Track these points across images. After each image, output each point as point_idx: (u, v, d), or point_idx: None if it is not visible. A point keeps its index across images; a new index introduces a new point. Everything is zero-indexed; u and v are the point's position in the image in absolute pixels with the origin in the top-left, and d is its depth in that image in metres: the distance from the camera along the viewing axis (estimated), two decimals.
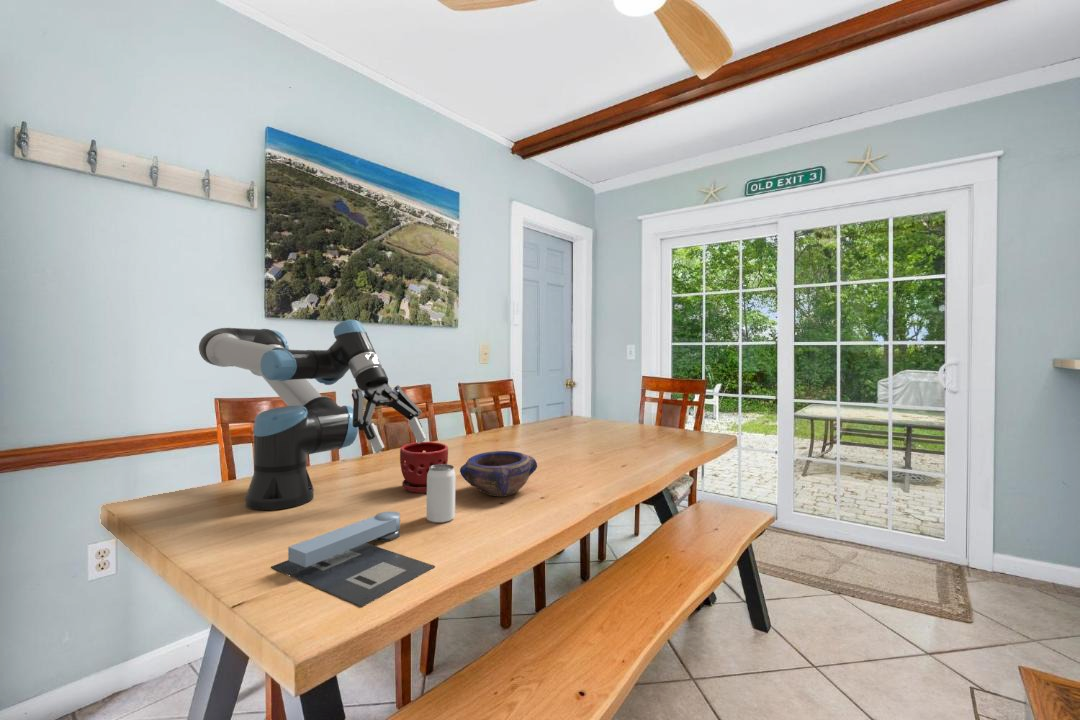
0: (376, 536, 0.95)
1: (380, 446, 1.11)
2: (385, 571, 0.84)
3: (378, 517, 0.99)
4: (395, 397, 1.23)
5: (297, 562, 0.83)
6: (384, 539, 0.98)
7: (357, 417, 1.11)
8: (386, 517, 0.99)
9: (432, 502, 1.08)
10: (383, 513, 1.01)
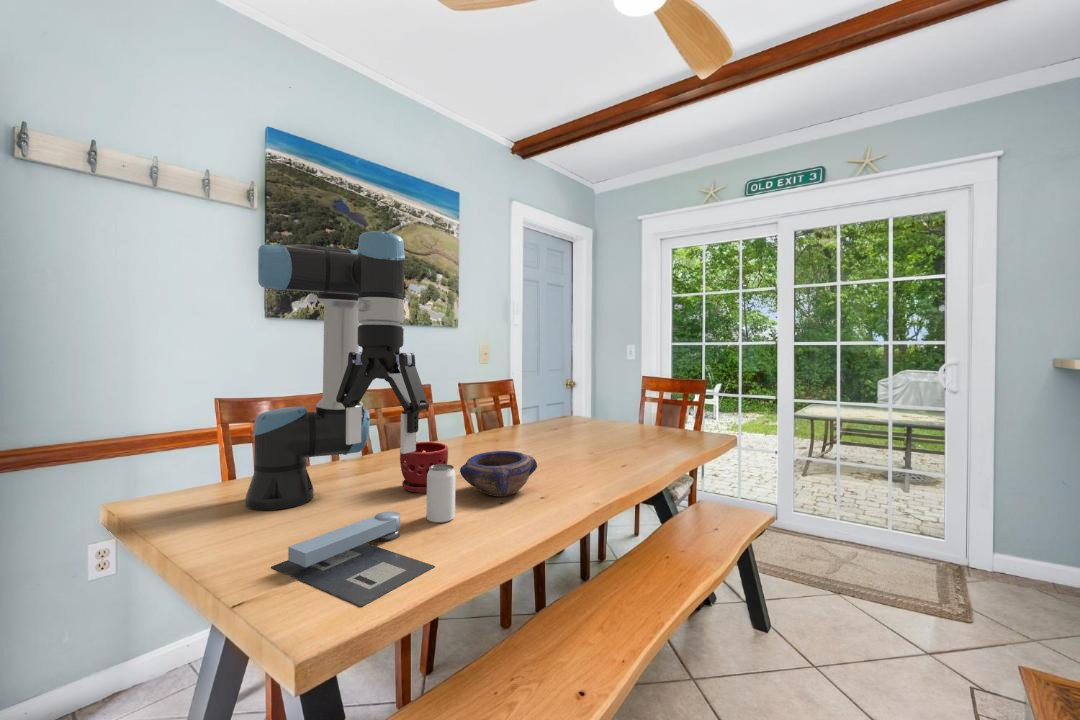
0: (376, 536, 0.95)
1: None
2: (385, 571, 0.84)
3: (378, 517, 0.99)
4: (385, 375, 0.80)
5: (297, 562, 0.83)
6: (384, 539, 0.98)
7: None
8: (386, 517, 0.99)
9: (432, 502, 1.08)
10: (383, 513, 1.01)
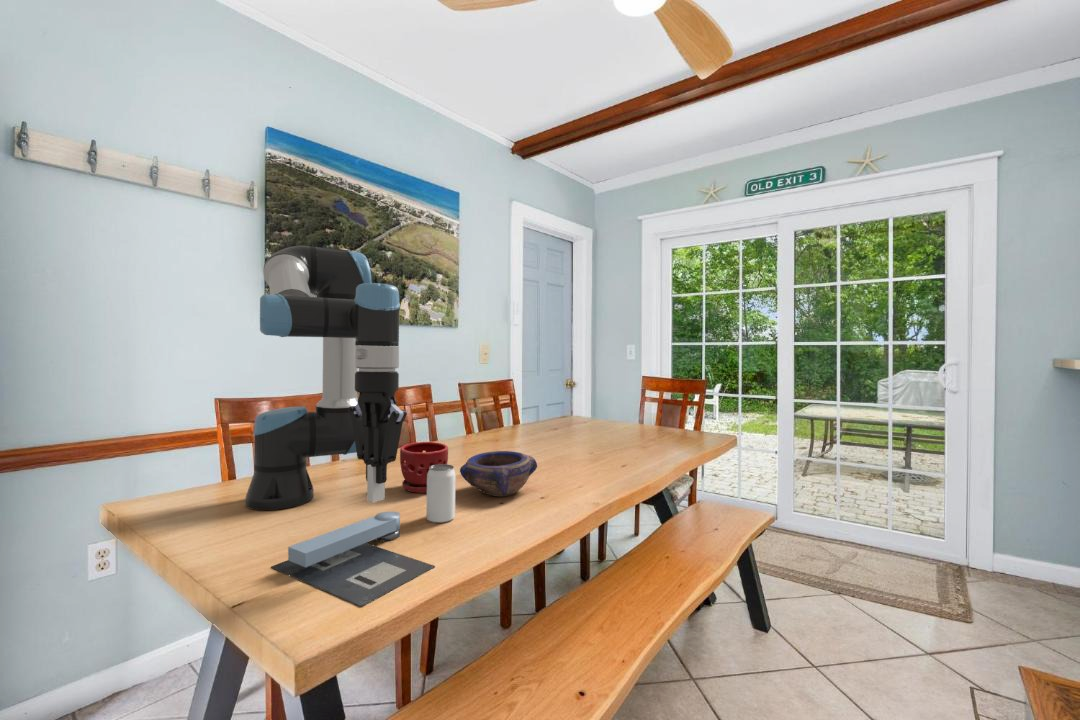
0: (376, 536, 0.95)
1: None
2: (385, 571, 0.84)
3: (378, 517, 0.99)
4: (373, 423, 0.85)
5: (297, 562, 0.83)
6: (384, 539, 0.98)
7: None
8: (386, 517, 0.99)
9: (432, 502, 1.08)
10: (383, 513, 1.01)
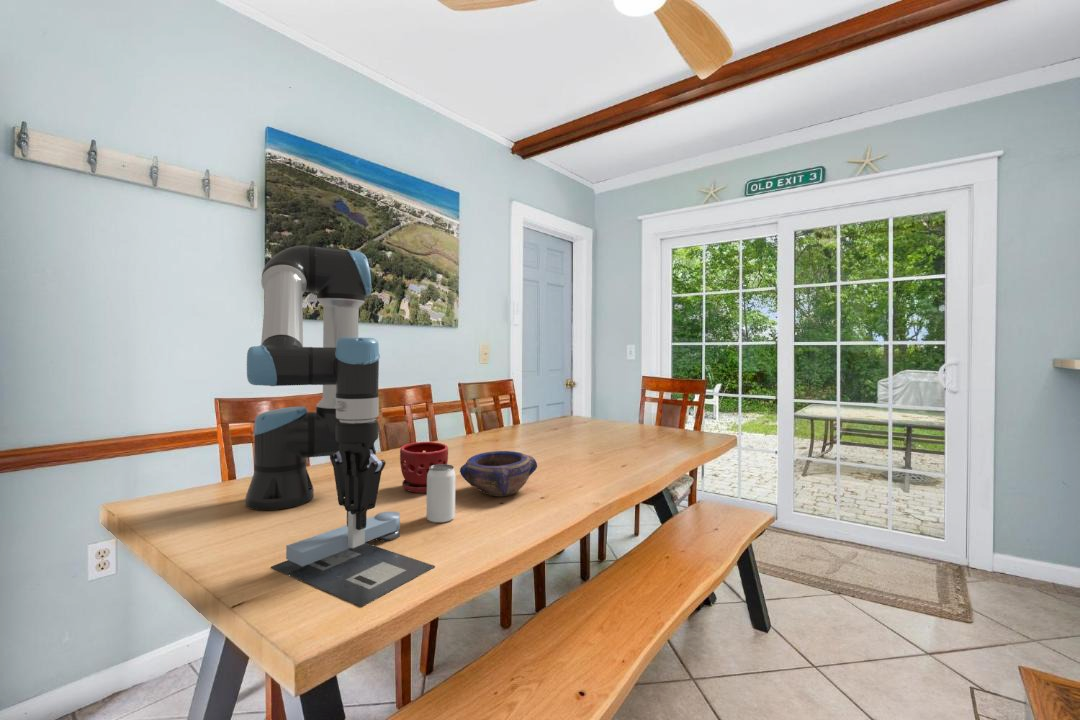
0: (375, 536, 0.95)
1: None
2: (385, 571, 0.84)
3: (378, 517, 0.99)
4: (353, 472, 0.88)
5: (294, 561, 0.83)
6: (384, 539, 0.98)
7: None
8: (386, 517, 0.99)
9: (432, 502, 1.08)
10: (383, 513, 1.01)
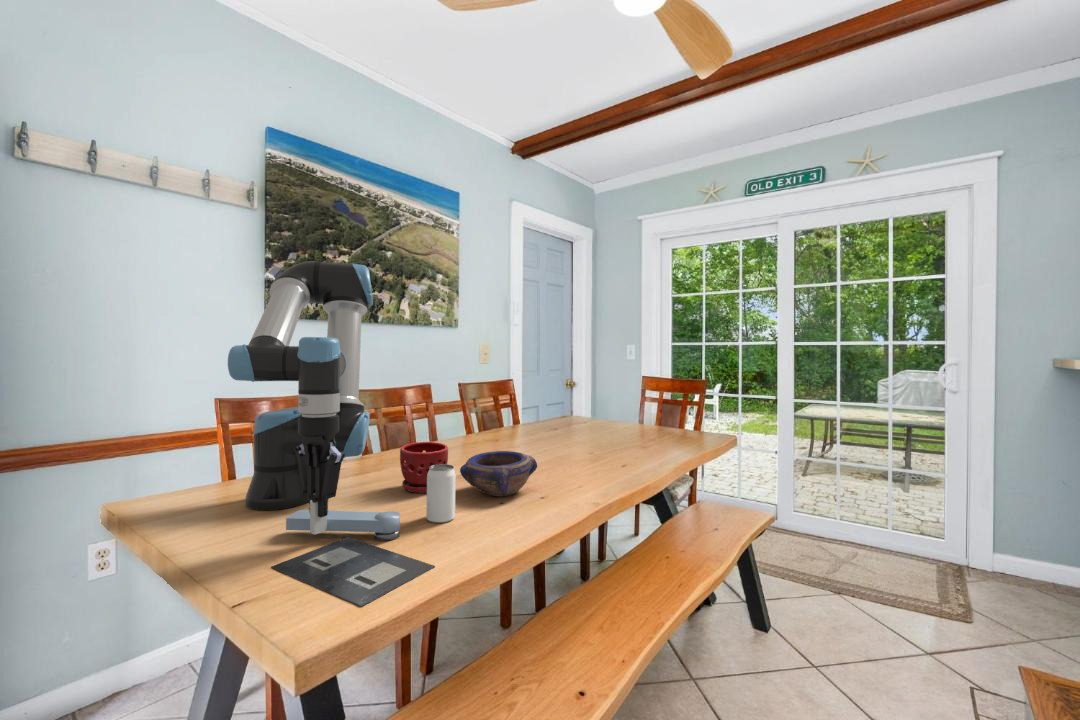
0: (359, 530, 0.98)
1: None
2: (385, 571, 0.84)
3: (379, 514, 1.01)
4: (314, 463, 0.94)
5: None
6: (384, 539, 0.98)
7: None
8: (381, 516, 0.99)
9: (432, 502, 1.08)
10: (391, 512, 1.02)
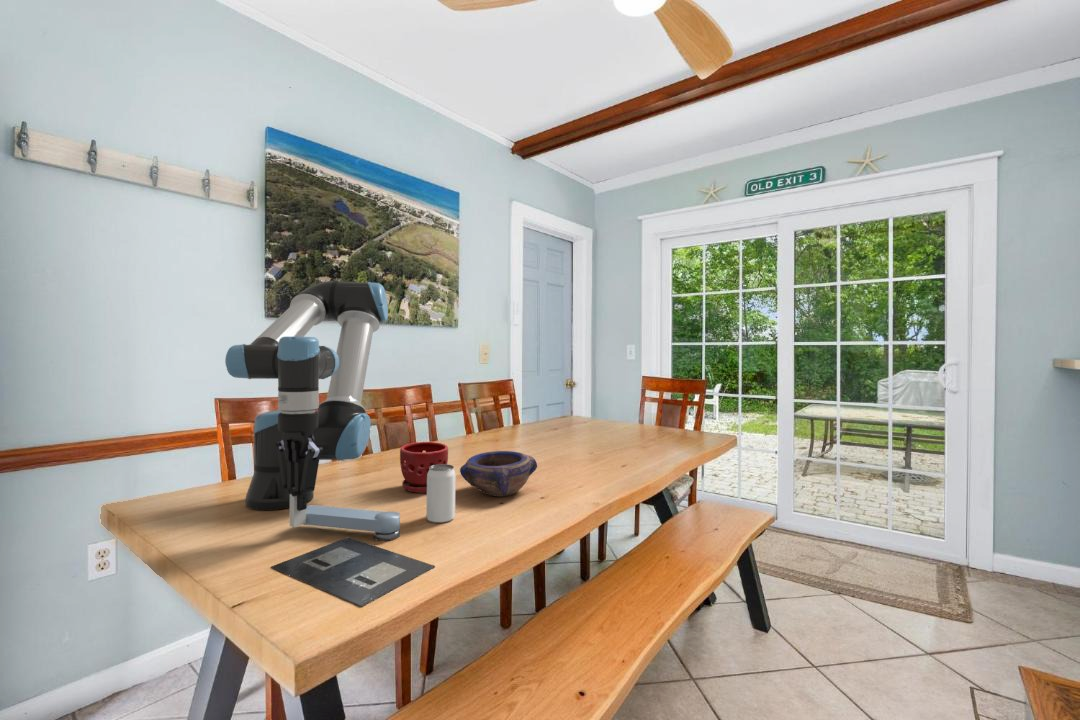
0: (359, 528, 0.99)
1: None
2: (385, 571, 0.84)
3: (380, 513, 1.01)
4: (294, 458, 0.97)
5: None
6: (384, 539, 0.98)
7: None
8: (381, 516, 1.00)
9: (432, 502, 1.08)
10: (392, 513, 1.02)
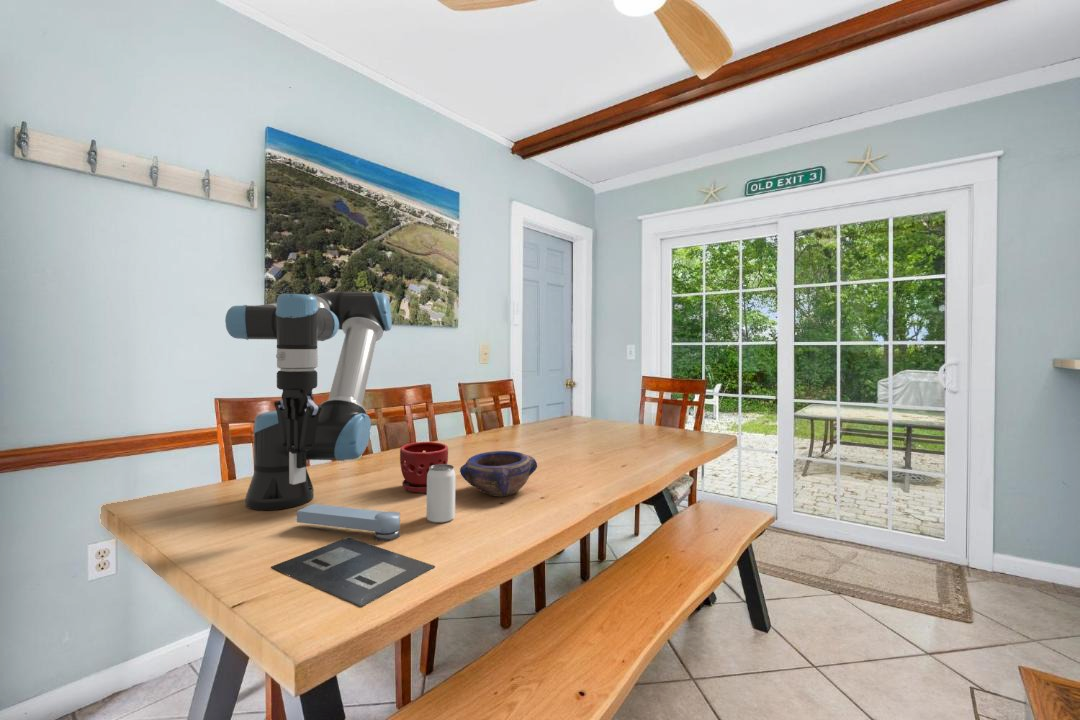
0: (359, 527, 0.99)
1: None
2: (385, 571, 0.84)
3: (381, 513, 1.01)
4: (293, 416, 0.97)
5: None
6: (384, 539, 0.98)
7: None
8: (381, 516, 1.00)
9: (432, 502, 1.08)
10: (392, 513, 1.02)
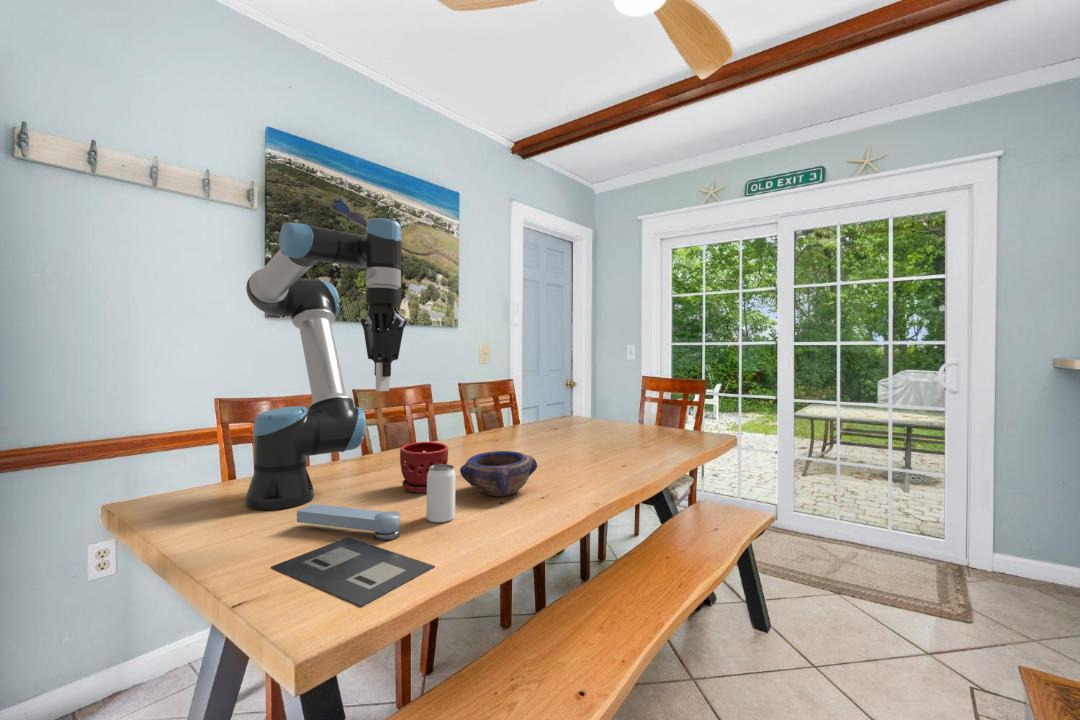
0: (359, 527, 0.99)
1: None
2: (385, 571, 0.84)
3: (381, 513, 1.01)
4: (381, 328, 1.08)
5: None
6: (384, 539, 0.98)
7: None
8: (381, 516, 1.00)
9: (432, 502, 1.08)
10: (392, 513, 1.02)
